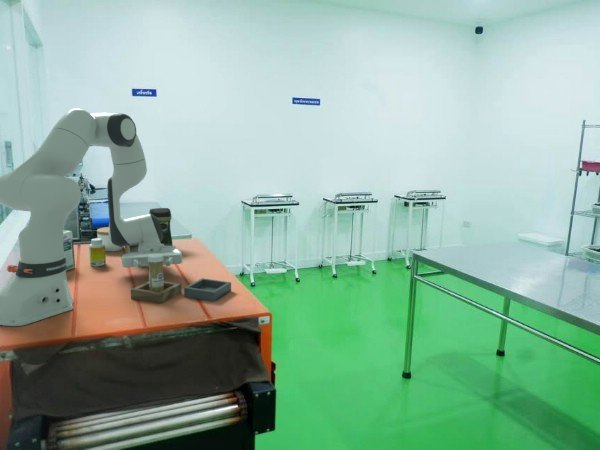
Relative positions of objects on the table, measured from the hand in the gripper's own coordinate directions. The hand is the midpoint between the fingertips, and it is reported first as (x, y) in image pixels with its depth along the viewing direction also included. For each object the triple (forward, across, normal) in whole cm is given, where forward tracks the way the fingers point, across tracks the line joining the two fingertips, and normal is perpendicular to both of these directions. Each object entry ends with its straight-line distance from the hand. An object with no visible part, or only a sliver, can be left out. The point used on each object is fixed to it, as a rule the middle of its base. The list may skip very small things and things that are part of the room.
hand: (153, 264), depth 153 cm
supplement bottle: (-32, -19, +8) cm, 38 cm away
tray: (+13, +16, +7) cm, 22 cm away
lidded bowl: (-56, -14, +8) cm, 59 cm away
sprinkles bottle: (+10, 0, +8) cm, 13 cm away
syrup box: (-29, -31, +8) cm, 43 cm away
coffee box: (-36, -5, +8) cm, 37 cm away
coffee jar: (-53, +6, +8) cm, 53 cm away
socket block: (+10, 0, +8) cm, 13 cm away
